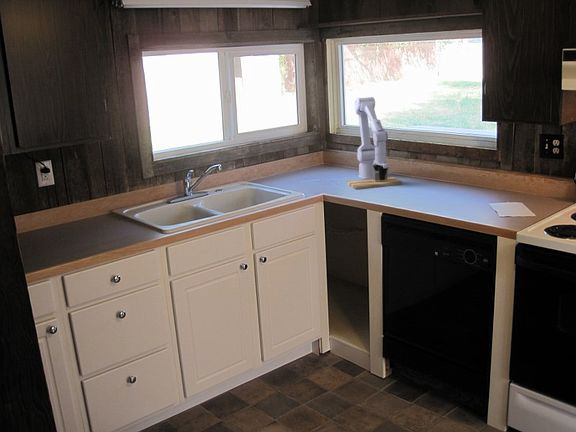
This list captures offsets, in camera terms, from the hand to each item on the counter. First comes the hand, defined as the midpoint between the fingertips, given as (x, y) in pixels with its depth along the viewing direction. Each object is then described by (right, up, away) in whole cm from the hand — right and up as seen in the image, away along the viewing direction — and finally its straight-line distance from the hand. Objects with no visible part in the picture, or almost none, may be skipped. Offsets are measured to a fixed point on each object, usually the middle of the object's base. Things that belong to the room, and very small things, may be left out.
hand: (380, 179), depth 333 cm
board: (-3, -3, 0) cm, 4 cm away
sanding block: (0, -1, 0) cm, 1 cm away
